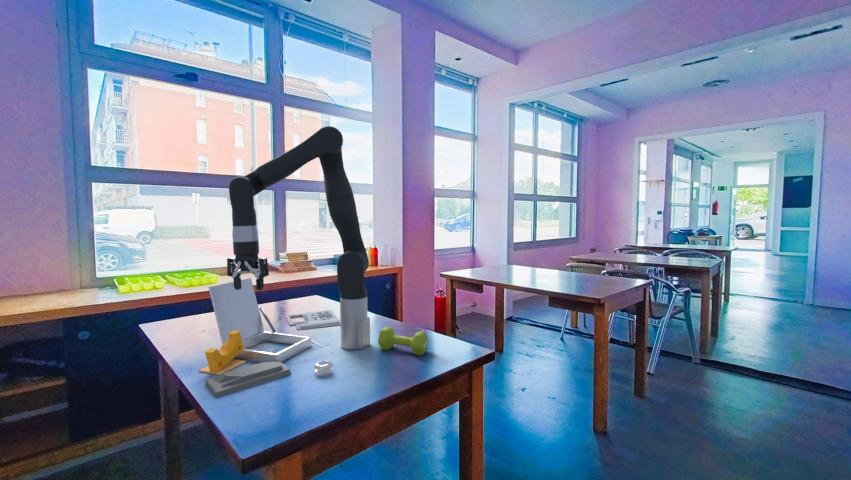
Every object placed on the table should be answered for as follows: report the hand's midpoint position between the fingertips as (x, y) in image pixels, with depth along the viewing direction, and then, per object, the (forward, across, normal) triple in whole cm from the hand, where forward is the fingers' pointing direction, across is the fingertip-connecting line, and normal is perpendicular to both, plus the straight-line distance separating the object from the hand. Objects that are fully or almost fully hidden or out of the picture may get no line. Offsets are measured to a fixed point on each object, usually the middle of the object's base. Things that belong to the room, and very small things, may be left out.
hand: (248, 289), depth 127 cm
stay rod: (+19, +5, -14) cm, 25 cm away
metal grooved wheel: (+22, -30, +6) cm, 38 cm away
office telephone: (+22, +3, -39) cm, 45 cm away
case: (+22, -4, -4) cm, 22 cm away
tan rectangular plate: (+21, +1, +11) cm, 24 cm away
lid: (+8, +9, -5) cm, 13 cm away
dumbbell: (+23, -46, -17) cm, 54 cm away
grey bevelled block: (+22, -13, +16) cm, 31 cm away
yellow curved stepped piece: (+20, +1, +10) cm, 22 cm away
